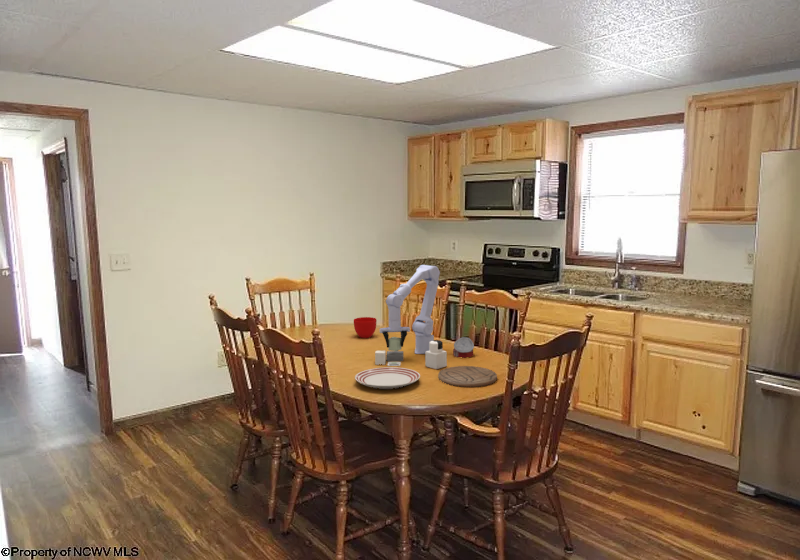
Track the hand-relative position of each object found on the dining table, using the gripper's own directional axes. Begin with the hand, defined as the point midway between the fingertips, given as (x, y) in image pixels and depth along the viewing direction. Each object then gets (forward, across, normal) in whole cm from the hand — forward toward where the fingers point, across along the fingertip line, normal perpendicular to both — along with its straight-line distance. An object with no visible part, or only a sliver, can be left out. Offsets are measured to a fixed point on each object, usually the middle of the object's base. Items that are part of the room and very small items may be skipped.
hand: (394, 346), depth 267 cm
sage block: (+1, 0, 0) cm, 1 cm away
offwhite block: (+6, +8, +6) cm, 12 cm away
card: (+6, +2, +9) cm, 11 cm away
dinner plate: (+6, +9, +35) cm, 37 cm away
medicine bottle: (+6, -16, +17) cm, 24 cm away
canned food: (+6, -34, +1) cm, 35 cm away
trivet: (+6, -26, +36) cm, 45 cm away
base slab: (+6, 0, 0) cm, 6 cm away
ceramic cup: (+6, +9, -50) cm, 51 cm away
